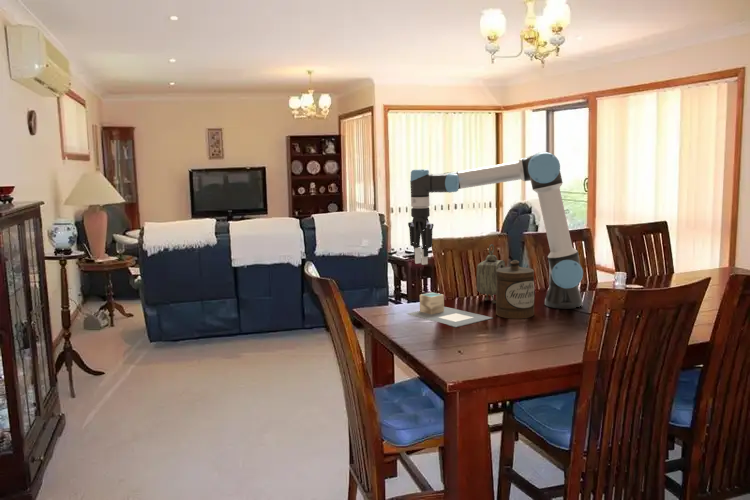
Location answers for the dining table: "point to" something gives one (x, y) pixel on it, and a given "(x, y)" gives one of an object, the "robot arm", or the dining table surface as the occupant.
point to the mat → (452, 317)
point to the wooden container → (515, 291)
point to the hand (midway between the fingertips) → (421, 263)
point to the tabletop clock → (488, 274)
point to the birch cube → (431, 303)
